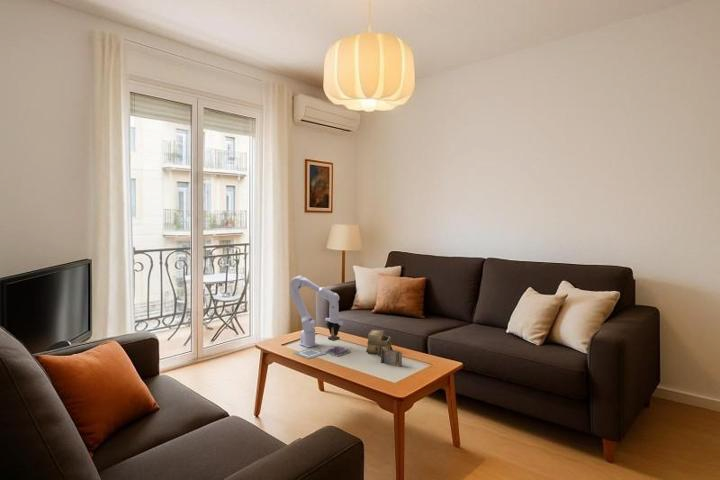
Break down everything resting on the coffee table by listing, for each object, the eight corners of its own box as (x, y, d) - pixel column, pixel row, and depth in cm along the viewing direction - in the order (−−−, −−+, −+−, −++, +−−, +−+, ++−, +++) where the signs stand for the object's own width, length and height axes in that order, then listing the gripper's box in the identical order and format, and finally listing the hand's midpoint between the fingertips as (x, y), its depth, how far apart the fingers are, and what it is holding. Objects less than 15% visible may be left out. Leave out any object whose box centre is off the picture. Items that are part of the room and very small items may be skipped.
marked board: (293, 353, 248) (293, 352, 248) (311, 348, 258) (311, 347, 258) (308, 359, 239) (308, 358, 238) (326, 353, 248) (326, 353, 248)
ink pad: (324, 352, 250) (324, 350, 250) (338, 348, 258) (338, 345, 258) (337, 356, 243) (337, 354, 242) (350, 352, 250) (350, 350, 250)
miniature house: (364, 354, 246) (364, 335, 245) (369, 347, 260) (369, 329, 259) (389, 356, 242) (389, 337, 242) (393, 349, 256) (393, 330, 255)
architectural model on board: (380, 363, 233) (380, 346, 232) (383, 362, 235) (383, 344, 235) (399, 367, 227) (399, 349, 226) (401, 365, 230) (401, 348, 229)
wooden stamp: (328, 339, 261) (328, 327, 261) (334, 337, 265) (334, 326, 264) (333, 341, 258) (333, 329, 257) (339, 339, 261) (339, 327, 261)
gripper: (346, 313, 258) (346, 335, 259) (330, 310, 268) (330, 331, 269) (338, 315, 253) (338, 338, 254) (322, 311, 263) (322, 333, 264)
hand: (333, 334), depth 261 cm, fingers closed on wooden stamp, 3 cm apart
